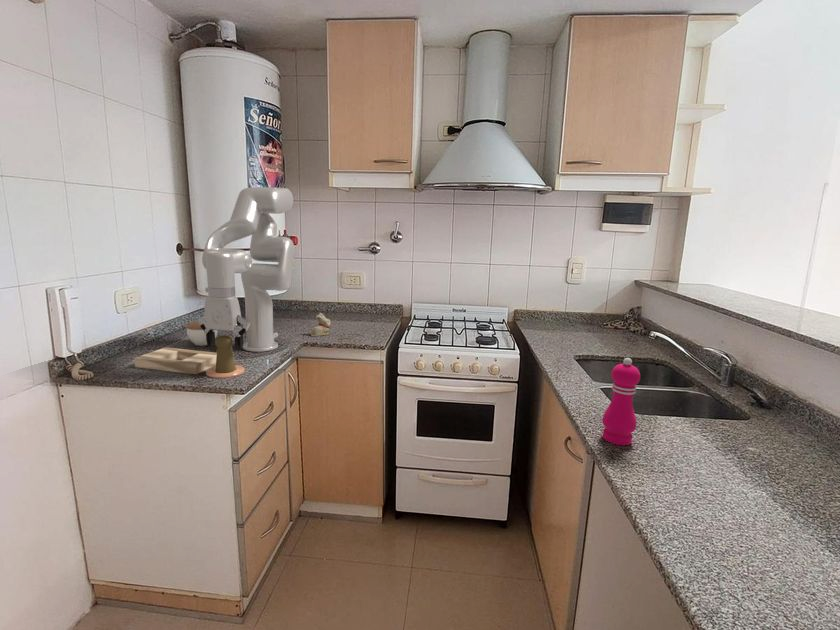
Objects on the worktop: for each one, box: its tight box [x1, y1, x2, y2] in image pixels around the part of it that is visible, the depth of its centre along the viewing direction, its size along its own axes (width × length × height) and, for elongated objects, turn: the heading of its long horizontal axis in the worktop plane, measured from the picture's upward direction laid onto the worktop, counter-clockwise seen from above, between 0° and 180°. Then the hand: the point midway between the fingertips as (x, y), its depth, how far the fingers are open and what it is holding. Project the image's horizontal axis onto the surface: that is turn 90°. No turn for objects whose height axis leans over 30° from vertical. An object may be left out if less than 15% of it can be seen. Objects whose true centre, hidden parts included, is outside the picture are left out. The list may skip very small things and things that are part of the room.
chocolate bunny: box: [309, 312, 332, 336], centre depth 185 cm, size 6×8×10 cm
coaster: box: [205, 364, 246, 379], centre depth 137 cm, size 11×11×1 cm
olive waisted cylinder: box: [214, 334, 236, 373], centre depth 136 cm, size 6×6×11 cm
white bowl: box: [185, 320, 218, 346], centre depth 166 cm, size 11×11×9 cm
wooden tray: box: [133, 347, 217, 375], centre depth 142 cm, size 13×22×3 cm, turn 78°
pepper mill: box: [601, 357, 641, 447], centre depth 101 cm, size 7×7×20 cm
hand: (225, 346), depth 136 cm, fingers open, 9 cm apart
